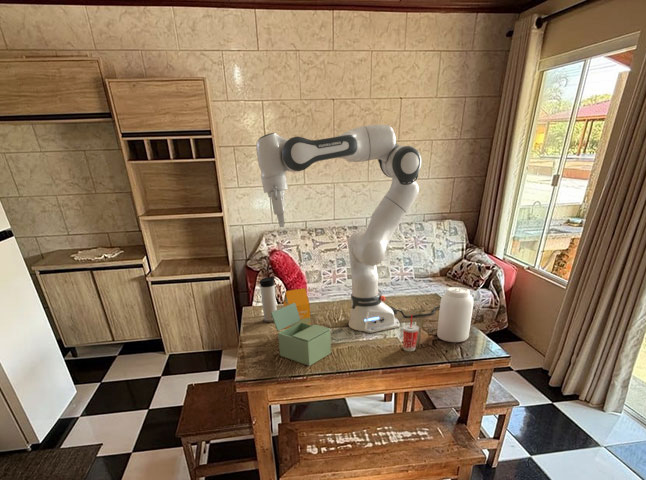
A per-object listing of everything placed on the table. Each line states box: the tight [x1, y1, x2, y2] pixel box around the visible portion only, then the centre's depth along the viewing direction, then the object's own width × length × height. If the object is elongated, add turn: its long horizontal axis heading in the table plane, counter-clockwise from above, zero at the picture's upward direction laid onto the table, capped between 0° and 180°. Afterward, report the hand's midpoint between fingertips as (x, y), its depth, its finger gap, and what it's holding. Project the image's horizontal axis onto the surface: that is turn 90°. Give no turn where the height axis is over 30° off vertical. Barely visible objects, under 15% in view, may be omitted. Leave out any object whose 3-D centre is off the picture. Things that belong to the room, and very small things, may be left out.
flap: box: [271, 303, 301, 332], centre depth 156 cm, size 7×13×1 cm
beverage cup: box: [402, 314, 420, 352], centre depth 155 cm, size 6×6×14 cm
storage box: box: [277, 322, 332, 367], centre depth 155 cm, size 15×13×10 cm
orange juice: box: [283, 287, 312, 329], centre depth 169 cm, size 8×9×20 cm
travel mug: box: [259, 276, 278, 323], centre depth 185 cm, size 6×7×20 cm
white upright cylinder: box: [436, 286, 475, 343], centre depth 162 cm, size 12×12×20 cm
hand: (282, 226), depth 152 cm, fingers open, 8 cm apart
